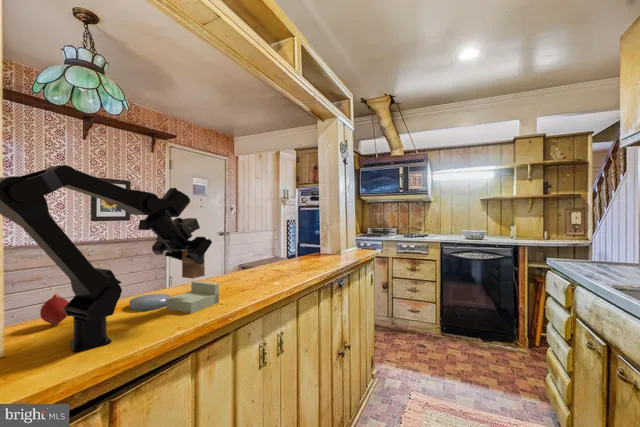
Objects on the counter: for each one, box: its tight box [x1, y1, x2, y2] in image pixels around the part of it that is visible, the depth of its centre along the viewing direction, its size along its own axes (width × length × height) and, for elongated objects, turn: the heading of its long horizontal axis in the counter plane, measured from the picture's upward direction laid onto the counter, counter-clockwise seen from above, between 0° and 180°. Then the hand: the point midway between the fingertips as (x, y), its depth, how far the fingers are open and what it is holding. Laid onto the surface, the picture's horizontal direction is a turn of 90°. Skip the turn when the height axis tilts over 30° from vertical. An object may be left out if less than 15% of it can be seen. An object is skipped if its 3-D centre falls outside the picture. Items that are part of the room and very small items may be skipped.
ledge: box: [165, 280, 220, 314], centre depth 92 cm, size 11×10×6 cm
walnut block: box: [181, 248, 206, 280], centre depth 92 cm, size 4×4×9 cm
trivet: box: [128, 293, 171, 312], centre depth 92 cm, size 11×11×2 cm
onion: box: [39, 293, 70, 326], centre depth 76 cm, size 6×6×8 cm
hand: (196, 262), depth 93 cm, fingers closed on walnut block, 4 cm apart
